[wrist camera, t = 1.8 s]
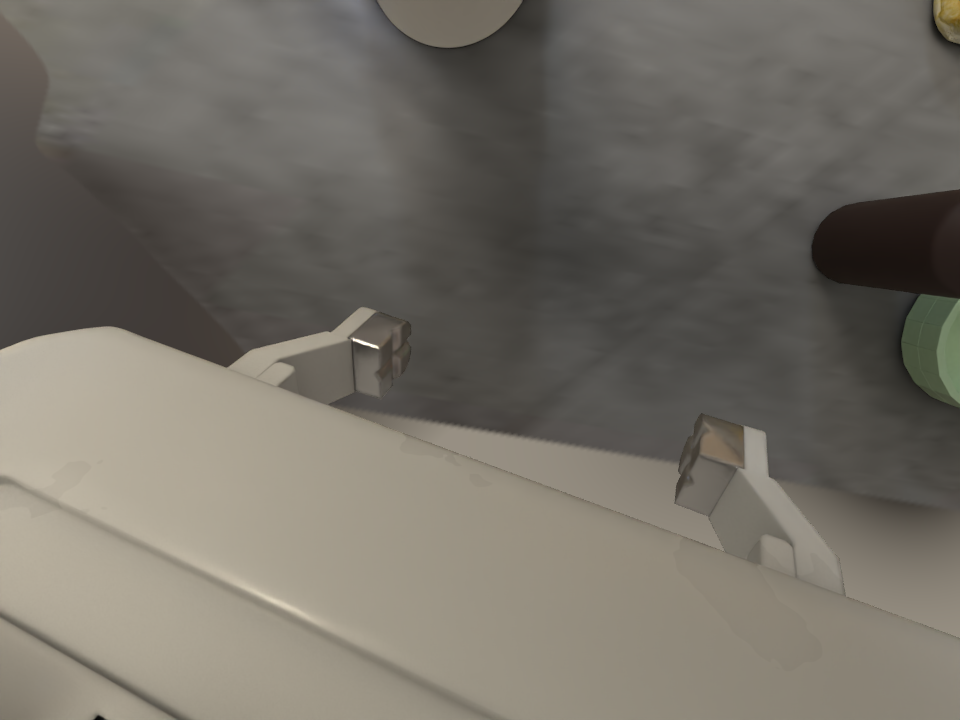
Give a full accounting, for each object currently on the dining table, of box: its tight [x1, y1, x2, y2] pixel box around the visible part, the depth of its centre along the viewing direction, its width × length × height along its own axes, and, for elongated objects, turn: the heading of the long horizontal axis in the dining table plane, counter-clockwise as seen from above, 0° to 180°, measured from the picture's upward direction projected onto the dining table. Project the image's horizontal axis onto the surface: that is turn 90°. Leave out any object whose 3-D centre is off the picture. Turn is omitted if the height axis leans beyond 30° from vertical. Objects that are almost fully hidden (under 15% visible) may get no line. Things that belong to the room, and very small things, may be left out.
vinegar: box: [812, 189, 960, 299], centre depth 36 cm, size 7×7×20 cm
